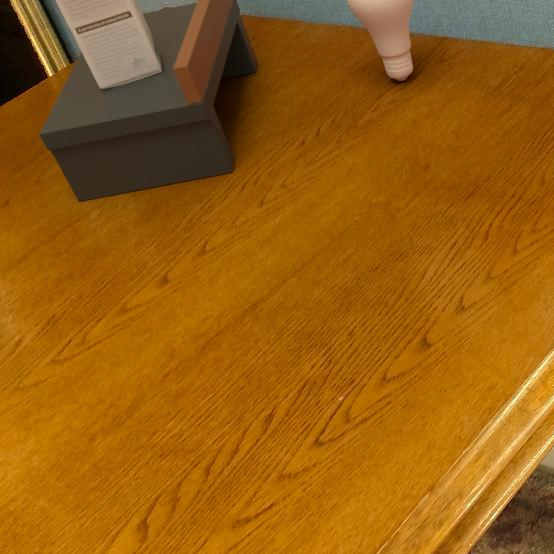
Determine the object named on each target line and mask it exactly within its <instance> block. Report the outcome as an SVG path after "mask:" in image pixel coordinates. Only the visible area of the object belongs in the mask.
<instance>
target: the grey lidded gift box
mask: <svg viewBox="0 0 554 554" xmlns="http://www.w3.org/2000/svg"><path fill="white" fill-rule="evenodd" d="M240 12H241V8H240V5H239V4H238V1H237V0H197V1H196V2H192V3H188V4H184V5H179V6H178V5H177V6H173V7H168V8H163V9H158V10H153V11H148V12H142V13H143V16H144V18H145V20H146V22H147V25H148V27H149V29H150V31H151V34H152V36H153V38H154V40H155V42H156V45H157V47H158V51H159V55H160V59H161V66H162V72H160V73H157V74H154V75H151V76H148V77H145V78H142V79H139V80H136V81H133V82H129V83H126V84H123V85H119V86H115V87H111V88H107V89H100V88H99V86H98V84H97V82H96V80H95V78H94V76H93V75H92V73H91V71H90V69H89V67H88V65H87V63H86V61H85V59H84V57H83V55H82V53H81V52H80V54H79V55H78V58H77V59H76V62H75V64H74V65H73V67H72V69H71V71H70V73H69V75H68V77H67V79H66V81H65V83H64V85H63V86H62V88H61V90H60V93H59V94H58V96H57V98H56V100H55V102H54V104H53V106H52V108H51V110H50V112H49V114H48V116H47V118H46V120H45V122H44V124H43V125H42V127H41V129H40V131H39V133H38V134H39V137H40V138H41V141H42V143H43V144H44V146H45V148H46V150H47V151H50V152H51V154H52V155H53V157H54V159H55V161H56V163H57V165H58V166H59V169H60V170H61V172H62V173H63V176H64V177H65V179H66V181H67V183H68V185H69V187H70V188H71V190H72V192H73V194H74V195H75V198H76V200H77V201H78V202H84V201H88V200H89V201H90V200H94V199H99V198H104V197H110V196H116V195H121V194H125V193H126V194H127V193H131V192H137V191H141V190H148V189H152V188H157V187H164V186H168V185H174V184H179V183H185V182H189V181H195V180H199V179H205V178H206V179H207V178H210V177H215V176H222V175H226V174H232V173H234V169H235V165H236V159H235V157H234V154H233V152H232V148H231V146H230V144H229V142H228V139H227V136H226V134H225V132H224V130H223V126H222V124H221V122H220V119H219V117H218V114H217V112H216V109H215V107H214V104H215V101H216V97H217V94H218V91H219V86H220V83H221V80H224V79H230V78H235V77H240V76H244V75H250V74H255V73H257V71H258V70H257V69H258V66H259V63H258V60H257V57H256V54H255V52H254V48H253V46H252V43H251V41H250V38H249V35H248V31H247V30H246V26H245V23H244V21H243V18H242V15H241V13H240Z"/></svg>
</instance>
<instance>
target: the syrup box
mask: <svg viewBox="0 0 554 554" xmlns="http://www.w3.org/2000/svg"><path fill="white" fill-rule="evenodd" d="M54 1H55V3H56V5H57V8H58V9H59V10H60V13H61V15H62V17H63V19H64V22H65V23H66V25H67V27H68V29H69V31H70V33H71V35H72V37H73V39H74V41H75V42H76V45H77V47H78V49H79V51H80V54H81V53H82V55H83V57H84V59H85V61H86V63H87V65H88V67H89V69H90V71H91V73H92V75H93V76H94V78H95V80H96V82H97V84H98V86H99V88H100V89H107V88H111V87H115V86H119V85H123V84H126V83H129V82H133V81H136V80H139V79H142V78H145V77H148V76H151V75H154V74H157V73H160V72H162V66H161V59H160V55H159V51H158V47H157V45H156V42H155V40H154V38H153V36H152V34H151V31H150V29H149V27H148V25H147V22H146V20H145V18H144V16H143V13H144V12H143V11H142V9H141V7H140V4H139V3H138V0H54Z"/></svg>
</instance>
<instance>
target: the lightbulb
mask: <svg viewBox="0 0 554 554" xmlns="http://www.w3.org/2000/svg"><path fill="white" fill-rule="evenodd" d="M414 1H415V0H346V3H347V5H348V7H349V9H350V11H351V13H352V14H353V15H354V16H355V18H356V19H357V20H358V21H359V22H360V23H361V24H362V26H363V27H364V28H365V29H366V30H367V32H368V33H369V35H370V36H371V39H372V40H373V43H374V45H375V48H376V51H377V54H378V55H379V56H380V57H381V59H382V63H383V66H384V69H385V72H386V75H387V76H388V77H389V78H391V79H394V80H396V81H398V82H402V81H405V80H406V79H408V76H409V75H410V74H412V72H413V70H414V66H413V58H412V54H411V48H412V43H411V37H410V19H411V15H412V10H413V6H414Z"/></svg>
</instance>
